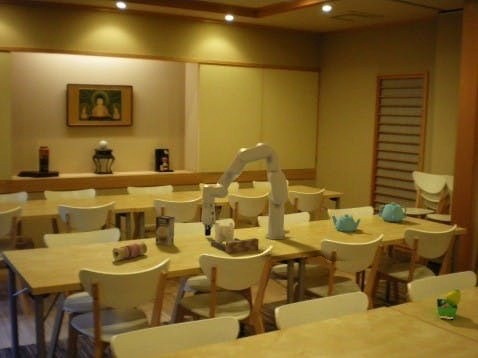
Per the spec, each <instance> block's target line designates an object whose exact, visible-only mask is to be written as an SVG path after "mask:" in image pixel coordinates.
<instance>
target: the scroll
mask: <svg viewBox="0 0 478 358" xmlns="http://www.w3.org/2000/svg"><path fill="white" fill-rule="evenodd" d="M147 247H148V246H147V244H146V243H145V242H139V243H133V244H127V245H125V246H119V247H114V248H112V250H111V251H112V257H113V259H114V260H115V261H118V260H121V259H122V260H123V259H126V260H132V259H134V258H135V257H136V256H139V255H145V254H146V253H148V248H147Z"/></svg>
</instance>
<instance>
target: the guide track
mask: <svg viewBox="0 0 478 358" xmlns="http://www.w3.org/2000/svg"><path fill="white" fill-rule="evenodd" d="M259 241H260V240H259V239H258V238H256V237H255V238H254V237H253V238H249V239H248V238H247V239H246V238H245V239H240V238H237V237H235V238H234V241H229V242H225V245H224V244H223V243H217V242H215V241H214V240H211V241H210V246H211V247H213V246H214V247H213V248H216V249H219V250H221V251H222V252H225V253H226V254H227V255H230V254H237V253H244V252H253V251H259V244H260V243H259Z"/></svg>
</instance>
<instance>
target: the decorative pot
mask: <svg viewBox="0 0 478 358" xmlns="http://www.w3.org/2000/svg"><path fill="white" fill-rule="evenodd" d="M390 203H391V204H390ZM390 203H389V204H385V205H384V204H382V205H379V212H378V217H380V218H382V220H383V221H386V223H387V222H388V223H390V222H395V223H400V222H402V221H403V220H404V219H406V218H407V216H408V215H407V214H406V212H407V210H408V209H407V207H406V206H404V205H403V206H401V205H400V204H396V203H397V202H390ZM382 207H383V208H382ZM403 209H404V210H403ZM403 211H404V212H403Z"/></svg>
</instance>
